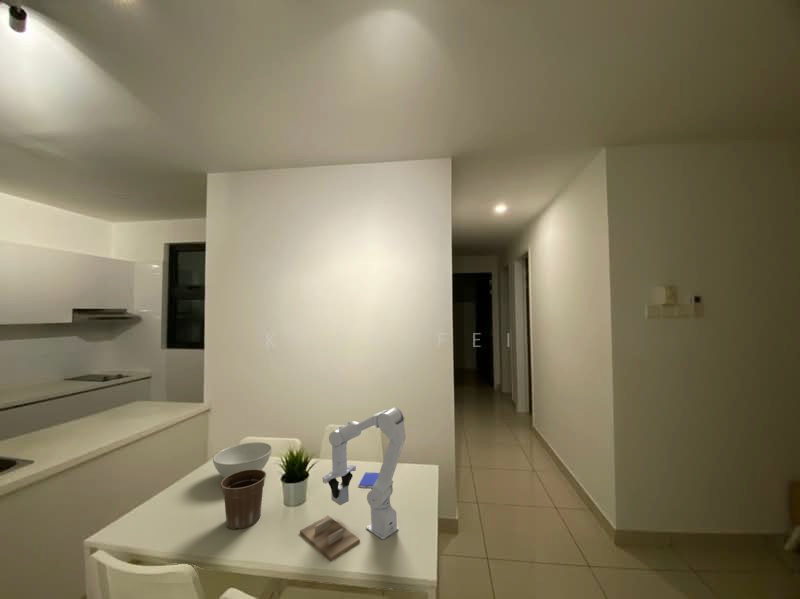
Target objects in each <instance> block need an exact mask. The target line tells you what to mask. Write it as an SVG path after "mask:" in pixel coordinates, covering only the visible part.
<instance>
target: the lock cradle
mask: <svg viewBox="0 0 800 599" xmlns="http://www.w3.org/2000/svg"><path fill="white" fill-rule="evenodd" d="M299 534H300V535H301V536H302V537H304V538H305V539H306V540H307V541H308V543H310V544H311V545H312V546H314V548H316V550H318V551H319V552H320V553H321V554H322V555H323V556H325V558H327V559H328V560H329V561H332V560H334V559H335V558H338V557H339V556H340V555H342V554H343V553H345V552H346V551H348V550H350V549H351V548H352V547H355V546H356V545H357V544H359V543H360V541H361V538H359V537H358V536H356V535H355V534H354V533H352V532H351V531H349V529H347V528H345V527H344V526H343V525H341V524H340V523H339V522H337V521H336V520H334V518H332V517H330V516H329V515H326V516H325V517H323V518H321V519H319V520H317V521H315V522H313V523H312V524H310V525H308V526H306V527H304V528H302V529H300V530H299Z"/></svg>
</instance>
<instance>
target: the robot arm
mask: <svg viewBox="0 0 800 599" xmlns="http://www.w3.org/2000/svg"><path fill="white" fill-rule="evenodd" d="M405 420H406V417H405V416H404V414H403V412H402V410H400V408H398V407H391V408H390V409H384V410H381V411H380V412H377V413H375V414H373V415H371V416H369V417H367V418H365V419H363V420H361V421H360V422H358V421H356V420H355V421H352V420H350V421H349V422H347V424H346V425H344V426H343V425H341V426H339V427H338V428H336V429H335V430H333V431H331V432H330V433H329V435H328V441H329V443H330V445H331V453H332V454H331V459H332V460H331V462H332V464H331V465H332V466H331V467H332V469H331V471H330V472H329V473H327V474H326V475H324V476H323V477H322V483H323V484H328V485H329V487H330V490H332V494H333V497H334V498H337V497H338V485H339V482H338V481H339V480H338V479H337V478H341V482H343V483H345V484H346V485H348V487H349V485H350V482H351V481H352V478H353V473H351V472H355V471H357V465H355V464H353V463H352V464H350V465H348V457H347V456H348V452H347V449H348V448H347V445H348V441H351V440H353V439H355V438H357V437H359V436H361V434H362V431H364V430H366V429H369V428H371V427H375V428H376V429H379V430H380V431H381V432H382V433H383V434H384V435H385V436H386V438H388V440H389V442H388V446H387V449H386V451H385V455H384V457H383V461H382V464H381V466H380V467H381V468H380V470H379V472H378V473H379V476H378V479H377V480H376V482H375V484H374V485H373V487H372V488H371V489H370V491H368V492H367V496H366V501H367V504H368V505H369V507H370V517H371V518H370V523H369V524H368V525H367V526H366V527H365V528H366V530H368V531H369V532H371V533H372V534H374V535H375V536H377V537H378V538H380V539H381V540H385V539H387V538H388V537H389V536H390V535H393V533H395V532H396V531H398V530H399V527H398V526H397V522H398V521H397V511H396V510H395V509H394V507H393V506H392V504H391V496H392V495H393V491H394V488H393V484H394V480H393V477H394V475H395V471H396V468H397V466H398V462H399V460H400V456H401V454H402V450H403V447H404V444H405V442H406V438H407V437H406V430H405V429H406V428H405Z"/></svg>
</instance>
